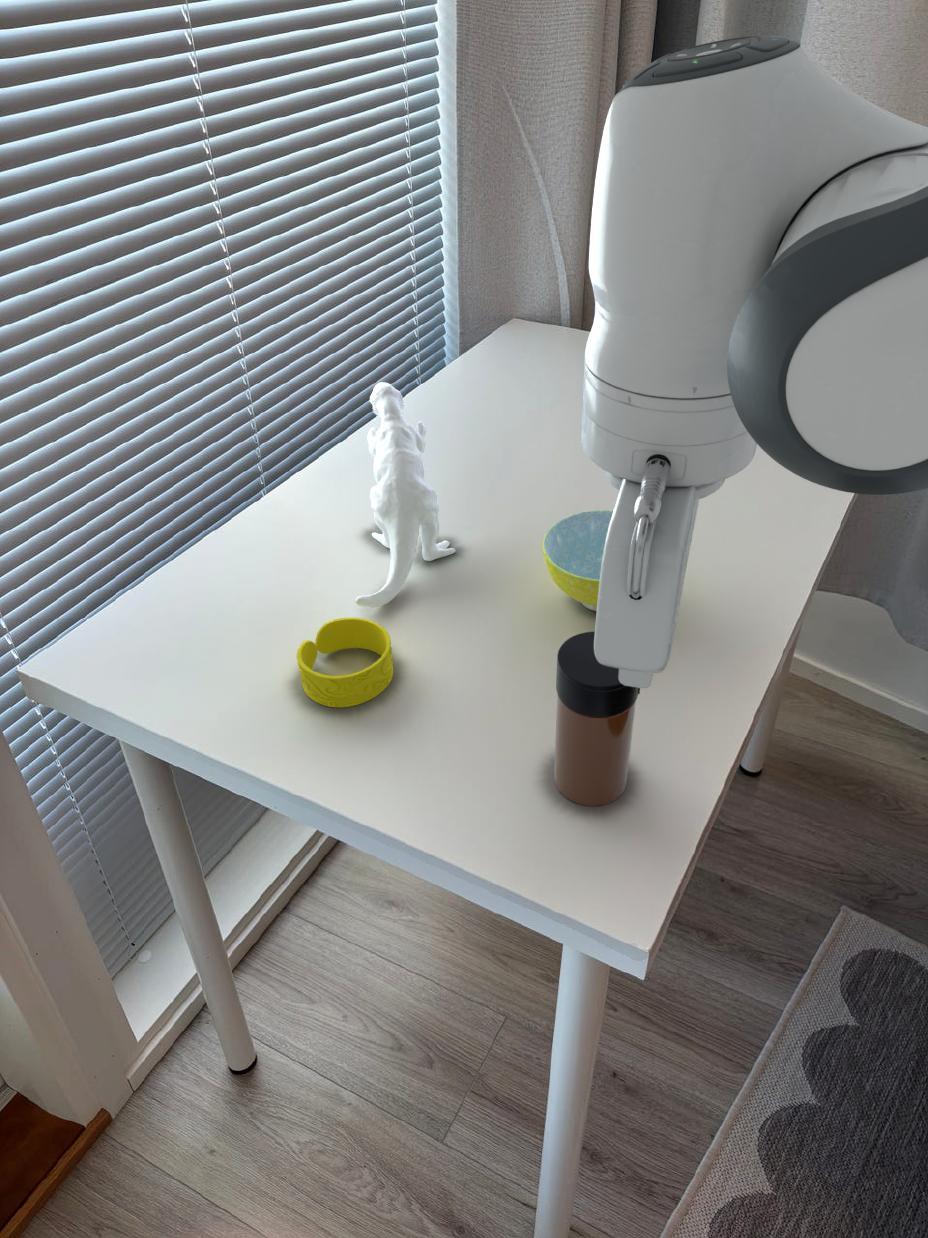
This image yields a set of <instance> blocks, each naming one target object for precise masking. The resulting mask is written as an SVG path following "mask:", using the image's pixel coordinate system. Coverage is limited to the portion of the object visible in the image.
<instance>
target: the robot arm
mask: <svg viewBox="0 0 928 1238" xmlns="http://www.w3.org/2000/svg"><path fill="white" fill-rule="evenodd" d="M590 222H591V223H590V224H591V225H590V235H589V251H588V252H589V253H588V254H589V255H588V273H589V278H590V282H591V285H592V290H593V295H594V303H595V305H594V318H593V324H592V326H591V329H590V332H589V335H588V338H587V341H586V346H585V350H584V366H583V367H584V368H583V385H582V391H583V392H582V411H581V412H582V413H581V433H580V442H581V448H582V450H583V452H584V453H585V455H586V457H587V458H588V459H589V460H590V462H592V463H593V464H594V465H596V466H597V467H598V468H600V469H602V470H603V474H604V477H605V479H606V480H607V482H609V484H610V485H611V486H612V487H614V489H616V490H618V495H617V498H616V501H615V504H614V506H613V509H612V510H613V513H612V516H611V520H610V523H609V527H608V530H607V534H606V539H605V544H604V550H603V556H602V563H601V572H600V582H599V591H598V601H597V611H595V612H596V613H595V624H594V625H595V626H594V631H595V635H594V653H595V657H596V659H597V661H598V662H599V663H600V664H602V665H604V666H608V667H613V668H618V669H619V677H618V679H619V681H620V683H621V684H623V685H625V686H631V687H637V688H640V689H647V688H649V687H650V686H651V685H652V680H653V675H654V674H661V673H663V672H664V671H665V670H666V668H667V666H668V665H669V660H670V657H671V654H672V653H671V652H672V648H673V644H674V643H673V642H674V636H675V632H676V628H677V627H676V626H677V621H678V616H679V609H680V604H681V599H682V593H683V590H684V589H683V588H684V582H685V578H686V574H687V573H686V572H687V568H688V561H689V555H690V550H691V545H692V540H693V535H694V529H695V524H696V520H697V519H696V518H697V513H698V508H699V502H700V500H701V499H704V498H707V497H708V496H711V495H712V494H714V493H716V492H717V491H718V490H720V488H721V487H723V485H724V483H725V481H726V480H727V479H728V478H731V477H733V476H736V475H737V474H739V473H740V472H741V471H743V470H745V469H746V468H747V467H748V466H749V465H750V463H751V462H752V461H753V459H754V457H755V455H756V452H757V447H759V448H760V449H761V450H762V451H763V452H764V453H766V454H767V455H768V456H769V457H770V458H771V459H772V460H773V461H775V462H776V463H777V464H778V465H780V466H781V467H783V468H784V469H786V470H787V471H789V472H791V473H792V474H794V475H795V476H798V477H800V478H802V479H804V480H806V481H809V482H810V483H813V484H816V485H819V486H821V487H825V488H828V489H832V490H836V491H839V492H844V493H851V494H859V495H869V496H870V495H871V496H882V495H883V496H884V495H887V496H888V495H898V494H899V495H900V494H907V493H912V492H918V491H923V490H925V489H928V126H924V125H922V124H920V123H917V122H914V121H911V120H909V119H906V118H904V117H902V116H899V115H897V114H895V113H892V112H890V111H888V110H886V109H885V108H882V107H881V106H879V105H877V104H875V103H873V102H871V101H869V100H868V99H866V98H865V97H863V96H861V95H860V94H858V93H857V92H855V91H854V90H851V89H850V88H849V87H847V85H845V84H843V83H842V82H840V81H839V80H838V79H836V78H834V76H832V75H831V74H830V73H829V72H827V71H826V69H824V68H823V67H821V65H820V63H818V62H817V61H816V60H815V59H814V57H813V56H812V55H811V54H810V52H809V51H808V50H807V48H806V47H805V46H804V45H803V44H801V42H799V41H798V40H795V39H791V38H787V37H785V36H778V35H759V36H758V35H757V36H756V35H749V36H741V37H740V36H739V37H734V38H726V39H721V40H717V41H716V40H715V41H710V42H706V43H702V44H698V45H694V46H693V45H692V46H689V47H686V48H684V49H682V50H679V51H677V52H673V53H670V52H669V53H667V54H665V55H663V56H661V57H659V58H657V59H656V60H654V61H652V62H650V63H648V64H647V65H645V66H644V67H643V68H641V69H640V70H639V71H637V72H635V74H633V76H631V77H630V78H629V79H628V80H627V81H626V82H625V83H624V84H623V85H622V87H621V88H620V90H619V91H618V92H617V93H616V94H615V95H614V97H613V98H612V102H611V104H610V106H609V109H608V112H607V115H606V119H605V123H604V126H603V130H602V136H601V141H600V147H599V152H598V160H597V166H596V172H595V181H594V190H593V199H592V210H591V220H590Z"/></svg>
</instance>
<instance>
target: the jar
mask: <svg viewBox="0 0 928 1238" xmlns="http://www.w3.org/2000/svg"><path fill="white" fill-rule="evenodd" d="M636 703H637V700H636V701H635V703H634V704H633V705H632V706H631V707H630V708H629V709H627V710H626V711H624V712H622V713H620V714H617V715H613V716H607V717H593V716H587V715H583V714H580V713H578V712H576V711H574V710H572V709H570V708H569V707H567V706H566V705H565V704H564V703H563V702H562V701H561V699H560V698H559V696H558V694H557V695H556V717H555V719H556V720H555V721H556V722H555V741H554V743H555V745H554V764H553V765H554V766H553V781H554V784H555V786H556V788H557V790H558V791H559V792H560V794H561V795H562V796H563V797H565V798H566V799H568V800H569V801H571V802H573V803H576V804H578V805H582V806H588V807H598V806H604V805H607V804H610V803H612V802H614V801H616V800H618V798H619V797H621V796H622V794H623V793H624V792H625V789H626V786H627V782H628V775H629V774H628V773H629V764H630V756H631V747H632V738H633V730H634V728H633V727H634V721H635V720H634V719H635V711H636Z"/></svg>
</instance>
